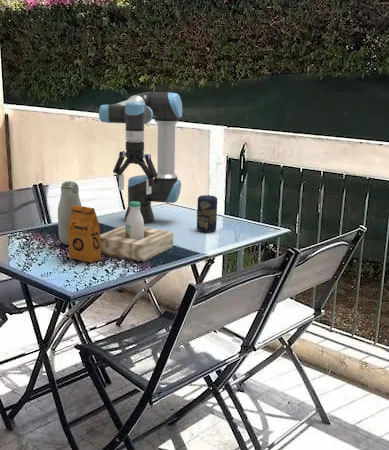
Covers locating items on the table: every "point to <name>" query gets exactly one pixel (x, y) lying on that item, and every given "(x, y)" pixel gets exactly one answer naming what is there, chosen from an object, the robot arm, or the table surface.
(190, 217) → the table surface
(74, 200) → the glass bottle
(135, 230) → the milk bottle
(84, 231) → the coffee package
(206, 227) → the canister
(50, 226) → the table surface
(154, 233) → the well block
